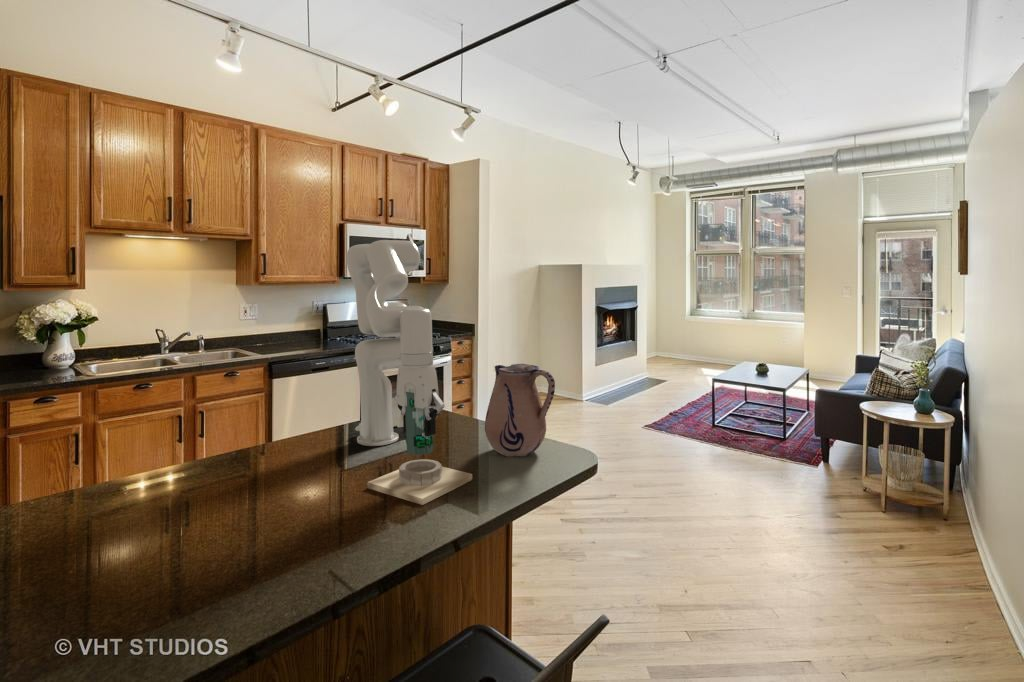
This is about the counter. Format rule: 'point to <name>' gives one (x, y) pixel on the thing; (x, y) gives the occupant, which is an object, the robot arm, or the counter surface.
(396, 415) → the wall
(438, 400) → the robot arm
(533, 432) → the ceramic pitcher
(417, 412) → the can
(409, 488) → the socket board
